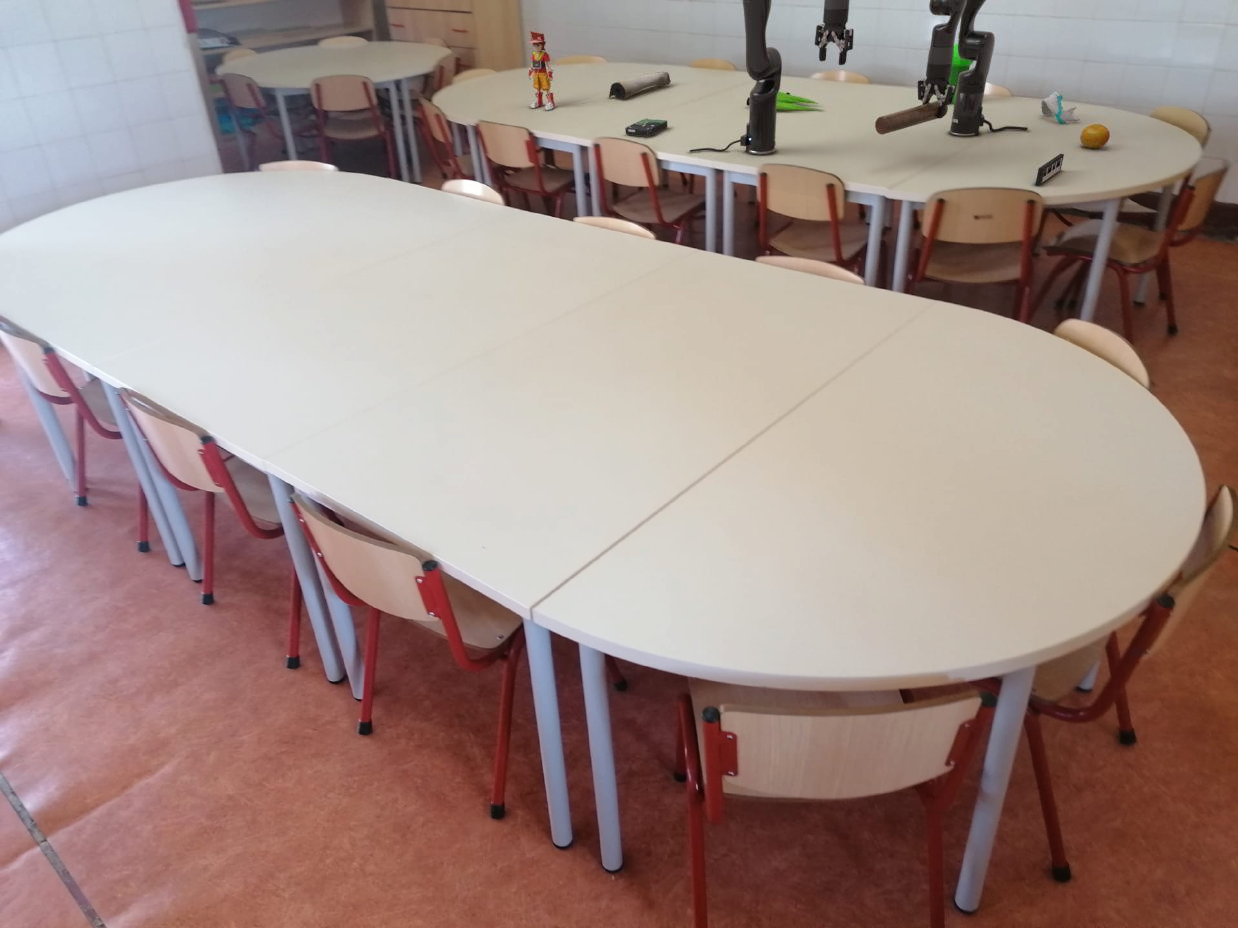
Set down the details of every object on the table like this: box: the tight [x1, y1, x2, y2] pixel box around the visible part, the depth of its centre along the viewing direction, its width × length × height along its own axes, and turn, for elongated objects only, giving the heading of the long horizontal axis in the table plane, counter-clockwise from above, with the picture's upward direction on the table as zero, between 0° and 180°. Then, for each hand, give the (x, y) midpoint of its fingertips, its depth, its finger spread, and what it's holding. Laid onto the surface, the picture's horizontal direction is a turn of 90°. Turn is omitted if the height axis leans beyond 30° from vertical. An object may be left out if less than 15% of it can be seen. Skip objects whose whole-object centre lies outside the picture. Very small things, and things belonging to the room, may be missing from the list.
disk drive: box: [624, 118, 668, 137], centre depth 342 cm, size 10×3×15 cm
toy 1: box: [527, 31, 556, 111], centre depth 374 cm, size 12×9×30 cm
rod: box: [874, 100, 949, 136], centre depth 287 cm, size 28×5×5 cm, turn 123°
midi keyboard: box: [1035, 153, 1065, 186], centre depth 273 cm, size 18×1×5 cm, turn 138°
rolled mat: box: [608, 71, 672, 101], centre depth 395 cm, size 30×9×10 cm
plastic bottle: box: [946, 34, 974, 104], centre depth 348 cm, size 10×10×25 cm
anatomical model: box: [1040, 91, 1081, 124], centre depth 325 cm, size 15×10×10 cm
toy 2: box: [745, 91, 821, 111], centre depth 360 cm, size 28×5×30 cm
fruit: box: [1079, 123, 1111, 149], centre depth 296 cm, size 8×8×8 cm
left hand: (832, 63), depth 284 cm, fingers open, 8 cm apart
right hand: (932, 116), depth 293 cm, fingers closed on rod, 5 cm apart
